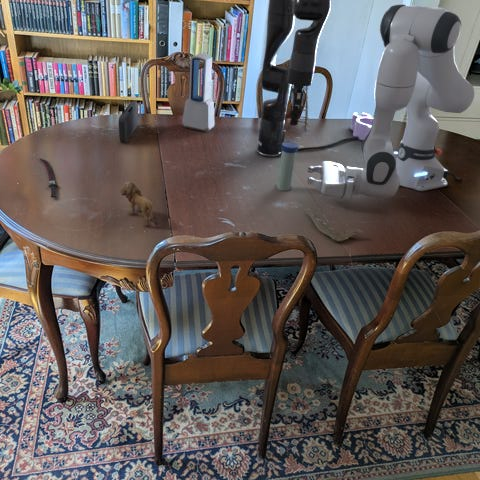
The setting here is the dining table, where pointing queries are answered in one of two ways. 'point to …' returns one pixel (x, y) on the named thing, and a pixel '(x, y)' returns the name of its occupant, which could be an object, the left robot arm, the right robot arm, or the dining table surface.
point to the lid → (289, 147)
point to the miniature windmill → (304, 110)
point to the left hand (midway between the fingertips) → (293, 120)
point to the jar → (285, 171)
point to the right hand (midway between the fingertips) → (307, 174)
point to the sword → (52, 181)
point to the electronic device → (199, 97)
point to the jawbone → (331, 232)
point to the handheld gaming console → (128, 121)
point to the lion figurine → (137, 201)
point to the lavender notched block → (361, 125)
